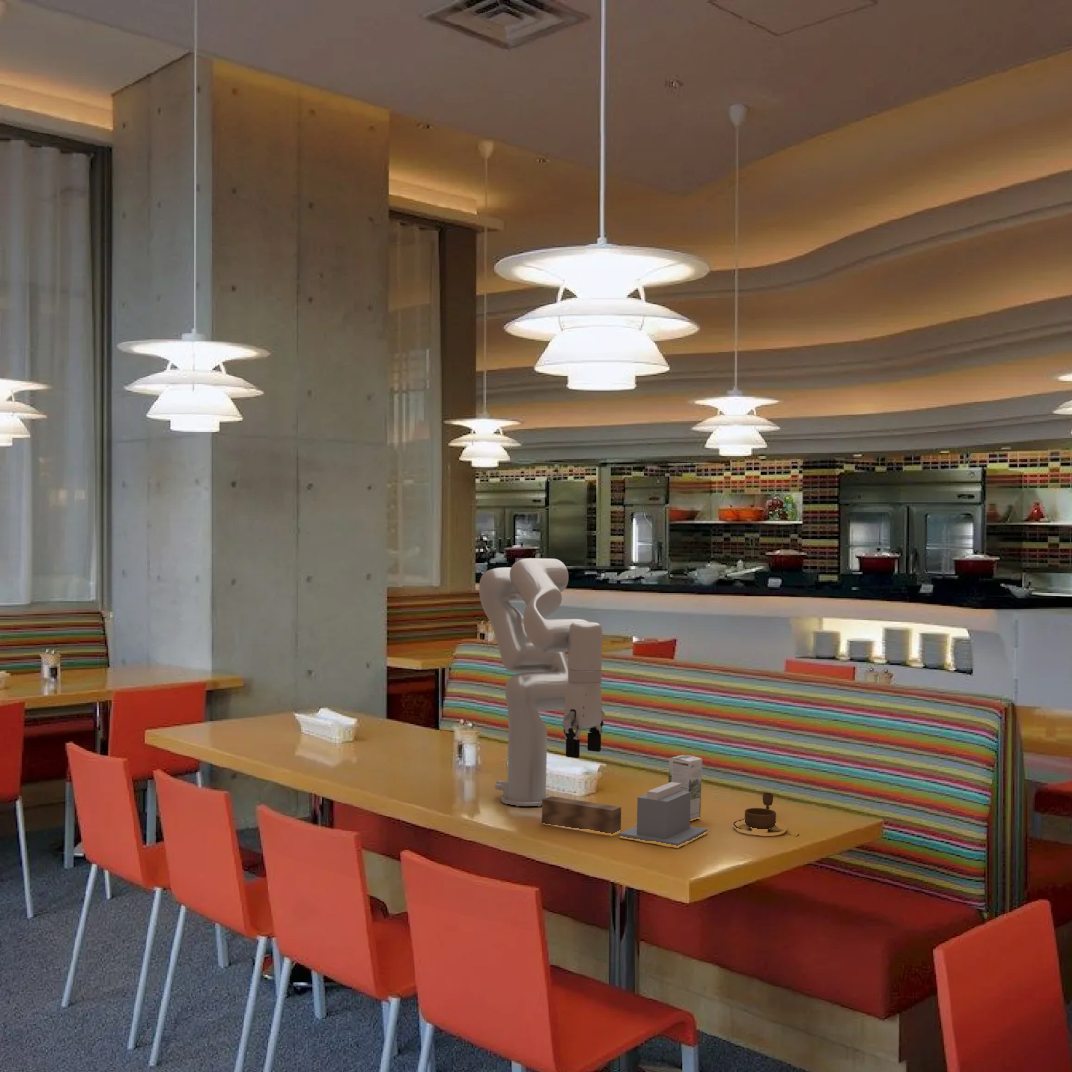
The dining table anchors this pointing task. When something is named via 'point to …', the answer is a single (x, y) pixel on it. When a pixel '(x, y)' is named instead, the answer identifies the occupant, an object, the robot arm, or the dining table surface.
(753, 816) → the place setting
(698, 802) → the syrup box
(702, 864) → the dining table surface
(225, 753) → the dining table surface
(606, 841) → the dining table surface
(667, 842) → the stand
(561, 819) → the walnut bar
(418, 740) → the dining table surface
